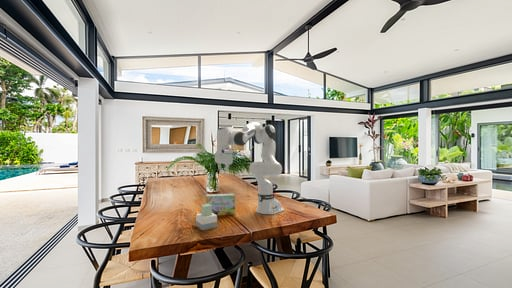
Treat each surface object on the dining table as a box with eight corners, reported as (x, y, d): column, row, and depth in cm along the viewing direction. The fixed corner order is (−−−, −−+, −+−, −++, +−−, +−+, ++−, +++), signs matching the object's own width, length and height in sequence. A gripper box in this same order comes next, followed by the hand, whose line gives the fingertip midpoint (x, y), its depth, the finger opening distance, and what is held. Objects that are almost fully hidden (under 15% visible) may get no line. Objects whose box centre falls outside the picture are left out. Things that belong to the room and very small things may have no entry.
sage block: (208, 213, 157) (208, 203, 157) (211, 214, 153) (211, 205, 153) (201, 214, 154) (201, 205, 154) (204, 216, 150) (204, 206, 150)
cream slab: (210, 217, 160) (210, 211, 160) (217, 221, 152) (217, 215, 152) (196, 220, 154) (196, 214, 154) (202, 224, 146) (202, 218, 146)
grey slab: (210, 223, 160) (210, 217, 160) (217, 227, 152) (217, 221, 152) (196, 226, 154) (196, 220, 154) (202, 231, 146) (202, 224, 146)
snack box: (206, 216, 174) (206, 195, 174) (206, 214, 180) (206, 194, 180) (234, 214, 178) (234, 194, 178) (234, 212, 184) (234, 193, 184)
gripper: (212, 149, 173) (212, 168, 173) (226, 150, 156) (226, 171, 157) (220, 149, 177) (220, 168, 177) (234, 150, 160) (234, 171, 160)
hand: (223, 170), depth 167 cm, fingers open, 8 cm apart
